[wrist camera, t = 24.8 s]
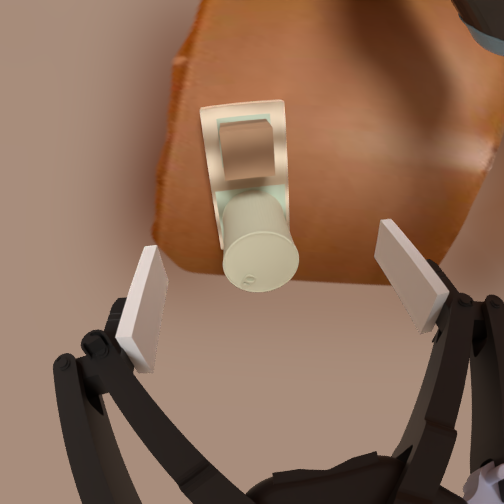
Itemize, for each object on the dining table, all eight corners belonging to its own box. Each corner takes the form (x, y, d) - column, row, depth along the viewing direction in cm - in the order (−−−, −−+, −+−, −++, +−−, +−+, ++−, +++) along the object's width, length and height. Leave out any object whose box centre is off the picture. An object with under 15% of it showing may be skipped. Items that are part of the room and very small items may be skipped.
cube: (220, 123, 36) (219, 132, 31) (266, 118, 36) (272, 127, 31) (225, 165, 40) (225, 180, 35) (268, 160, 40) (275, 175, 35)
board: (201, 107, 37) (199, 110, 35) (280, 99, 38) (284, 101, 35) (221, 239, 50) (221, 249, 48) (286, 231, 50) (289, 241, 48)
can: (211, 227, 45) (208, 278, 35) (243, 178, 41) (249, 219, 31) (261, 252, 49) (271, 304, 39) (295, 208, 44) (315, 254, 35)
